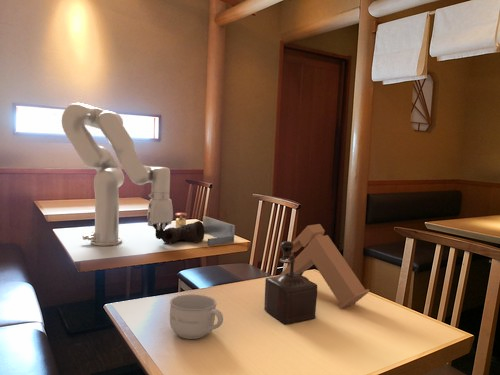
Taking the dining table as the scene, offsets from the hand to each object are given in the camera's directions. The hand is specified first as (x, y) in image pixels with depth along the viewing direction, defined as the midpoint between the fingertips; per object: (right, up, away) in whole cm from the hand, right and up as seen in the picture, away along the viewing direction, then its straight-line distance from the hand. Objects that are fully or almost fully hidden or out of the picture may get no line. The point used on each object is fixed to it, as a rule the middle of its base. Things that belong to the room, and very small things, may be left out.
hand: (159, 238), depth 175 cm
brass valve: (+4, 0, +30) cm, 30 cm away
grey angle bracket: (+18, -2, +16) cm, 24 cm away
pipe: (+9, -3, +8) cm, 13 cm away
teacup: (+26, -13, -80) cm, 85 cm away
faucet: (+60, -12, -49) cm, 78 cm away
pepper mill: (+49, -12, -62) cm, 80 cm away
